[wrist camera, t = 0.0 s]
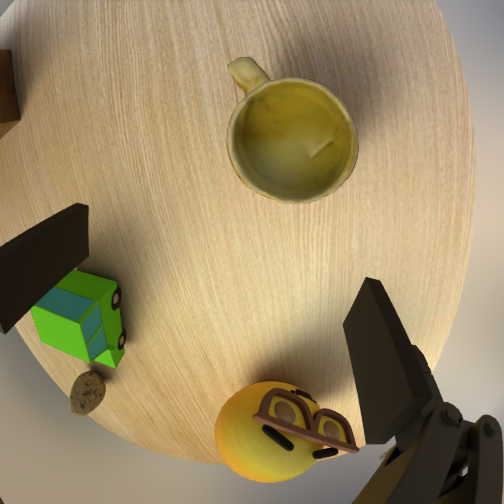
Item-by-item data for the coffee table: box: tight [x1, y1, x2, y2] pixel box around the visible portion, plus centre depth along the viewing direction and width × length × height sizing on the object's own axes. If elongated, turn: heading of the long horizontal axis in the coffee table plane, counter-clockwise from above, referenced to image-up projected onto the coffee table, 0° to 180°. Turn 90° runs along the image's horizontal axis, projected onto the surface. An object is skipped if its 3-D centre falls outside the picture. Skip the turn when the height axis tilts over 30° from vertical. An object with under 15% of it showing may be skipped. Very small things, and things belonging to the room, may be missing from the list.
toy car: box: [30, 270, 126, 368], centre depth 33 cm, size 10×13×10 cm
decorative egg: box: [70, 371, 106, 416], centre depth 40 cm, size 6×6×10 cm
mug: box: [227, 57, 359, 204], centre depth 22 cm, size 12×10×10 cm
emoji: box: [215, 381, 359, 483], centre depth 34 cm, size 16×16×15 cm
